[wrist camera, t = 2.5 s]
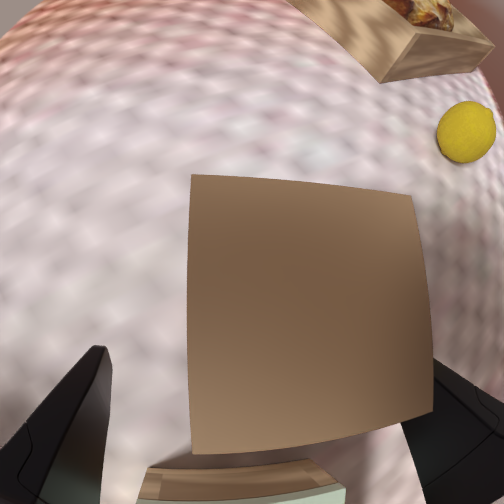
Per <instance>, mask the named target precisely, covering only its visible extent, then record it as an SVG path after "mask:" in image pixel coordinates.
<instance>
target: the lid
mask: <svg viewBox="0 0 504 504" xmlns="http://www.w3.org/2000/svg"><path fill="white" fill-rule="evenodd" d="M345 494H346V488H345V487H344V486H343V485H341V484H340V483H336V484H332V485H327V486H323V487H319V488H314V489H309V490H304V491H299V492H293V493H288V494H281V495H275V496H267V497H259V498H250V499H239V500H224V501H159V500H145V499H137V501H136V504H345Z"/></svg>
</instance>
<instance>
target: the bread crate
mask: <svg viewBox="0 0 504 504" xmlns="http://www.w3.org/2000/svg"><path fill="white" fill-rule="evenodd" d="M286 1H287V2H289V3H290V4H292V5H293V6H294V7H296V8H297V9H298V10H300V11H301V12H302V13H303V14H305V15H306V16H307V17H308V18H310V19H311V20H312V21H313V22H315V23H316V24H317V25H318V26H319V27H321V28H322V29H323V30H324V31H325V32H327V33H328V34H329V35H330V36H331V37H332V38H333V39H335V40H336V41H337V42H338V43H339V44H340V45H341V46H342V47H343V48H345V49H346V50H347V51H348V52H349V53H350V54H351V55H352V56H353V57H354V58H355V59H356V60H357V61H358V62H359V63H360V64H361V65H362V66H363V67H364V68H365V69H366V70H367V71H368V72H369V73H370V74H371V75H372V76H373V77H374V78H375V79H376V80H377V81H378V82H379V83H385V82H391V81H397V80H404V79H411V78H418V77H426V76H434V75H444V74H455V73H468V72H472V71H473V70H474V69H475V68H476V67H477V66H478V65H479V64H480V63H481V62H482V61H483V60H484V58H485V57H486V56H487V55H488V54H489V53H490V52H491V51H492V50H493V49H494V48H495V46H494V45H493V44H492V43H491V42H490V40H488V38H486V36H485V35H484V34H483V33H482V32H480V30H479V29H478V28H477V27H476V26H475V25H474V24H472V23H471V22H470V21H469V20H468V19H467V18H466V17H465V16H464V15H463V14H462V13H460V12H459V11H458V10H457V9H456V8H455V7H454V6H452V5H451V7H452V14H453V20H454V28H453V30H452V32H449V31H443V30H438V29H432V28H425V27H418V26H413V25H411V24H410V23H409V22H408V21H407V20H406V19H404V18H403V17H402V16H401V15H400V14H398V13H397V12H396V11H395V10H393V9H392V8H391V7H390V6H388V5H387V4H386V3H384V2H383V1H382V0H286Z"/></svg>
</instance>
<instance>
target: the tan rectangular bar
mask: <svg viewBox="0 0 504 504" xmlns="http://www.w3.org/2000/svg"><path fill="white" fill-rule="evenodd" d="M187 358H188V389H189V410H190V427H191V442H192V454H229V453H244V452H256V451H266V450H275V449H283V448H290V447H297V446H303V445H309V444H315V443H320V442H326V441H331V440H335V439H340V438H345V437H349V436H353V435H357V434H361V433H365V432H369V431H373V430H377V429H380V428H384V427H387V426H390V425H394V424H397V423H400V422H403V421H406V420H409V419H412V418H415V417H418V416H421V415H424V414H427V413H429V412H432V411H433V344H432V327H431V315H430V304H429V295H428V286H427V279H426V272H425V265H424V258H423V252H422V246H421V241H420V235H419V230H418V225H417V220H416V216H415V211H414V207H413V202H412V198H411V196H409V195H403V194H397V193H390V192H383V191H377V190H369V189H362V188H354V187H346V186H338V185H330V184H321V183H311V182H301V181H290V180H279V179H267V178H253V177H237V176H219V175H196V174H191V189H190V207H189V229H188V261H187Z"/></svg>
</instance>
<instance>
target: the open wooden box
mask: <svg viewBox="0 0 504 504" xmlns="http://www.w3.org/2000/svg"><path fill="white" fill-rule="evenodd" d="M336 483H338V481H336V480H335V479H334V478H333V477H331V476H330V475H329V474H328V473H327V472H325V471H324V470H323V469H322V468H320V467H319V466H318V465H317V464H316V463H315V462H313V461H312V460H311V459H304V460H298V461H292V462H285V463H278V464H270V465H262V466H252V467H239V468H223V469H160V468H147V471H146V474H145V477H144V480H143V483H142V486H141V489H140V492H139V495H138V499H145V500H159V501H224V500H239V499H250V498H259V497H267V496H275V495H281V494H288V493H293V492H299V491H304V490H309V489H314V488H319V487H323V486H327V485H332V484H336Z"/></svg>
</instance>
